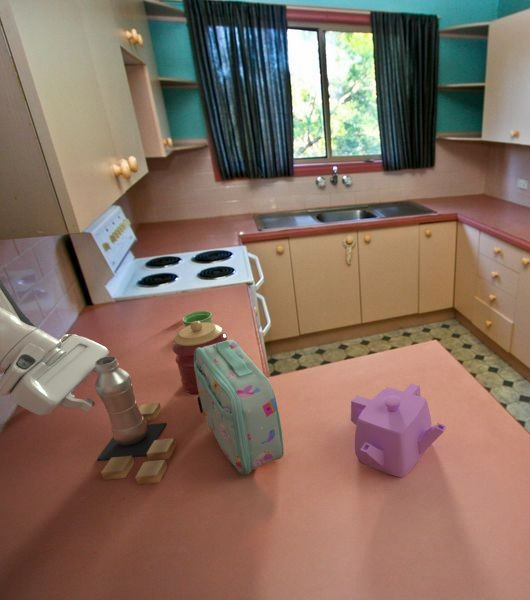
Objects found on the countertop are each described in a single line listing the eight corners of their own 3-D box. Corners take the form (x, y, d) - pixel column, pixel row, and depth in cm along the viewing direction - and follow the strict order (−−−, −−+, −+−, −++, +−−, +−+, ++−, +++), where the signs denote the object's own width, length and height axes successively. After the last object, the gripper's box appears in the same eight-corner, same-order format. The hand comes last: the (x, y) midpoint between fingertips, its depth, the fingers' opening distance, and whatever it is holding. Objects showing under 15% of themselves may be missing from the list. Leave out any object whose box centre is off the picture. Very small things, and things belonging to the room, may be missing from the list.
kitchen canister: (171, 391, 110) (153, 330, 102) (205, 364, 121) (191, 308, 114) (214, 398, 106) (199, 336, 99) (245, 370, 118) (233, 313, 111)
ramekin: (219, 327, 143) (216, 315, 141) (192, 337, 137) (189, 324, 135) (206, 319, 148) (204, 308, 147) (180, 329, 142) (177, 317, 140)
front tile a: (137, 484, 82) (134, 477, 81) (146, 469, 85) (144, 461, 84) (159, 482, 82) (156, 474, 81) (167, 467, 86) (165, 459, 85)
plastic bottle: (145, 424, 97) (119, 348, 89) (154, 439, 93) (128, 360, 85) (112, 439, 93) (82, 360, 85) (121, 454, 88) (90, 373, 80)
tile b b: (149, 461, 87) (146, 453, 86) (156, 447, 91) (154, 440, 90) (169, 459, 88) (166, 451, 87) (176, 445, 91) (174, 438, 90)
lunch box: (199, 420, 99) (177, 339, 90) (242, 401, 105) (226, 324, 96) (243, 489, 80) (220, 395, 71) (293, 462, 86) (278, 372, 77)
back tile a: (136, 421, 99) (134, 414, 98) (144, 411, 102) (142, 404, 102) (154, 420, 99) (152, 413, 98) (161, 409, 103) (159, 402, 102)
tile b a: (103, 480, 83) (100, 472, 82) (114, 465, 87) (111, 457, 86) (125, 478, 83) (122, 470, 82) (134, 462, 87) (131, 455, 86)
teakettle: (418, 414, 98) (417, 369, 93) (448, 467, 83) (450, 416, 78) (346, 432, 94) (341, 385, 89) (364, 491, 79) (360, 439, 74)
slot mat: (97, 461, 88) (96, 459, 88) (121, 428, 97) (120, 426, 97) (148, 456, 89) (147, 454, 88) (166, 424, 98) (166, 422, 98)
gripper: (60, 341, 93) (120, 375, 97) (-13, 397, 74) (66, 436, 79) (75, 321, 91) (136, 356, 96) (5, 373, 72) (84, 414, 77)
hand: (104, 393), depth 87 cm, fingers open, 8 cm apart
